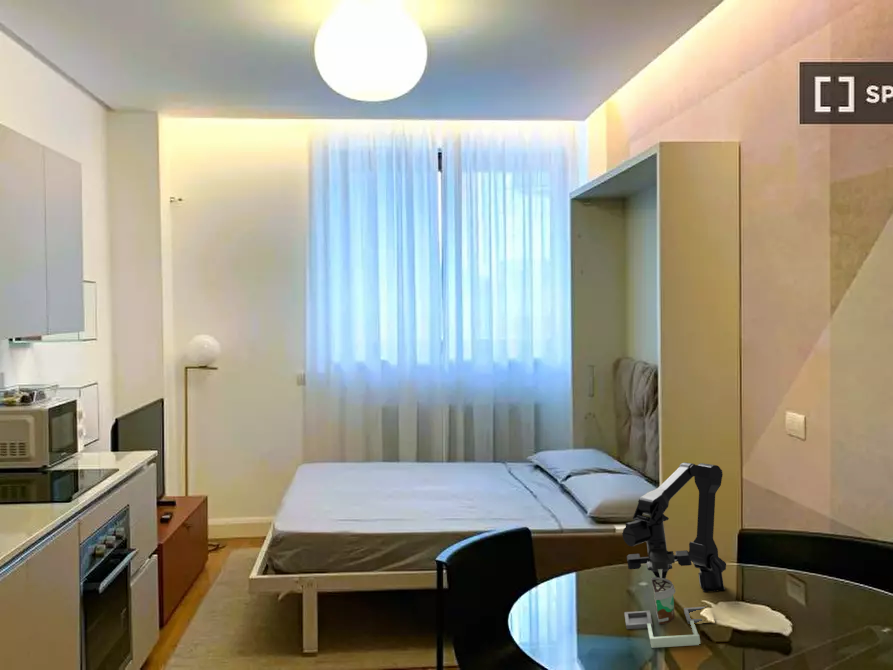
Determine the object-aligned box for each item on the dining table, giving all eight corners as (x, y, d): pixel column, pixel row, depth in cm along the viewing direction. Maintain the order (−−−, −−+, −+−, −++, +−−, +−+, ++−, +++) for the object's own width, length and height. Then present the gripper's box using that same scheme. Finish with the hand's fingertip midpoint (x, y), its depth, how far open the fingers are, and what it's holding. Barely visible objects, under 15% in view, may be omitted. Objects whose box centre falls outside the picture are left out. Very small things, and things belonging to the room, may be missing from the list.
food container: (681, 625, 216) (677, 591, 216) (659, 626, 217) (655, 593, 217) (676, 607, 228) (671, 575, 228) (655, 608, 229) (651, 576, 229)
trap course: (710, 610, 223) (709, 602, 223) (723, 643, 202) (722, 634, 202) (624, 616, 228) (623, 608, 228) (629, 649, 206) (627, 640, 206)
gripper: (625, 548, 223) (632, 599, 224) (690, 544, 219) (697, 596, 220) (624, 536, 234) (630, 585, 235) (685, 531, 230) (692, 581, 231)
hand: (662, 587), depth 230 cm, fingers closed
